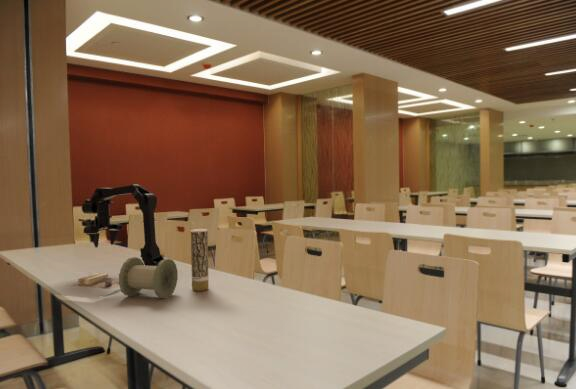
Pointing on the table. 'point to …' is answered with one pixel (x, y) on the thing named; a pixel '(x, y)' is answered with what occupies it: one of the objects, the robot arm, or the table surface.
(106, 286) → the board
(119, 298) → the table surface
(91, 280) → the maple plate
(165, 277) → the spool
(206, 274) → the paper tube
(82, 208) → the robot arm
